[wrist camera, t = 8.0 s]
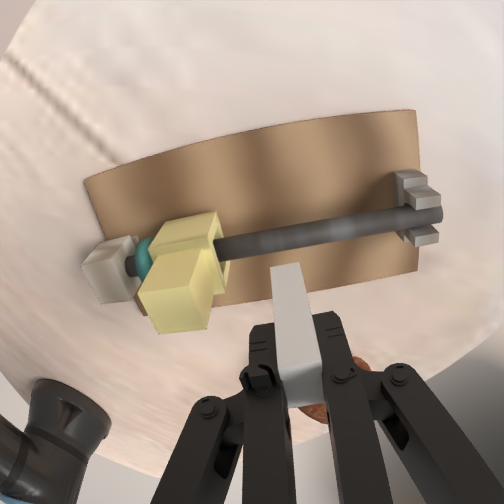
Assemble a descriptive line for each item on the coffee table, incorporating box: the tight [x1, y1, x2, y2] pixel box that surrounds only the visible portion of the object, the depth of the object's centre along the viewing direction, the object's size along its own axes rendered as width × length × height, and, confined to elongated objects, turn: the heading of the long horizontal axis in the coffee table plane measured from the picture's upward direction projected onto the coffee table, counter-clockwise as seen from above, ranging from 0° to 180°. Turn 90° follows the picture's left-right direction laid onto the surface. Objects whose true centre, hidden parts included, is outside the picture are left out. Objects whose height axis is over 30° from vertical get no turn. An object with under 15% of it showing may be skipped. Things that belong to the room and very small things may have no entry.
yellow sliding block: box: [137, 211, 231, 334], centre depth 19 cm, size 4×4×8 cm
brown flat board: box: [80, 110, 443, 316], centre depth 21 cm, size 26×14×5 cm, turn 102°
